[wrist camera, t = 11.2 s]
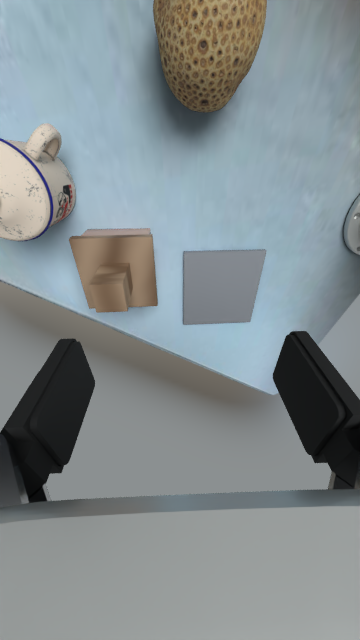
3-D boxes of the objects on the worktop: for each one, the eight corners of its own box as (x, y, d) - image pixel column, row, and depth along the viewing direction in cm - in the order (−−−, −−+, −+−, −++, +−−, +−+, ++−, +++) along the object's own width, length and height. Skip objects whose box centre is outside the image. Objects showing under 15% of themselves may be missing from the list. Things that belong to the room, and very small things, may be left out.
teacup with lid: (57, 236, 32) (13, 268, 23) (-11, 185, 28) (-98, 198, 19) (105, 166, 28) (75, 170, 18) (32, 93, 24) (-55, 49, 14)
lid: (152, 234, 28) (149, 253, 22) (157, 301, 34) (156, 331, 28) (72, 236, 28) (47, 256, 22) (91, 304, 34) (76, 334, 28)
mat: (265, 249, 35) (266, 250, 35) (249, 320, 44) (250, 322, 43) (183, 251, 35) (184, 252, 34) (183, 322, 43) (183, 324, 42)
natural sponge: (238, 115, 26) (272, 96, 18) (162, 122, 26) (161, 104, 18) (247, -18, 20) (302, -133, 12) (150, -11, 20) (142, -123, 12)
